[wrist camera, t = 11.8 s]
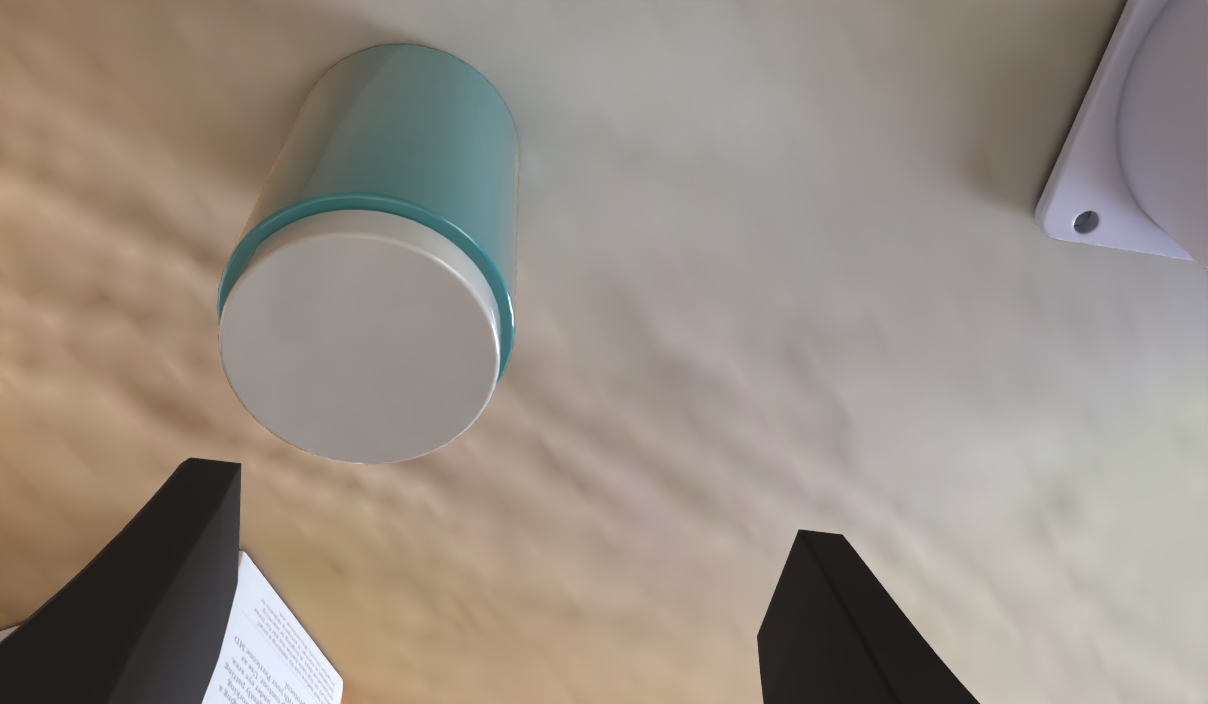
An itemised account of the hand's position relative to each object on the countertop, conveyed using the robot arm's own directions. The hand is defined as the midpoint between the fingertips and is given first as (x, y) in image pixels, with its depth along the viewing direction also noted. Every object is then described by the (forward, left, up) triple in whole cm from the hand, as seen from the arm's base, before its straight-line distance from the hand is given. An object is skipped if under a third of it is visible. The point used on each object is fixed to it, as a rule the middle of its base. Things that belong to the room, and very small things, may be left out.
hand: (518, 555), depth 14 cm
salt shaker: (+2, -1, -10) cm, 11 cm away
